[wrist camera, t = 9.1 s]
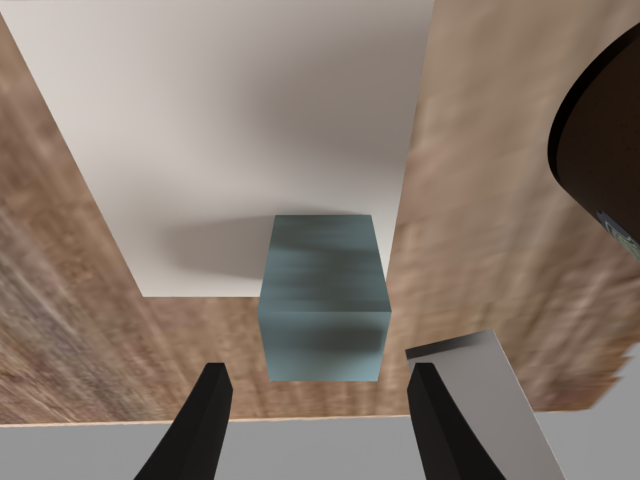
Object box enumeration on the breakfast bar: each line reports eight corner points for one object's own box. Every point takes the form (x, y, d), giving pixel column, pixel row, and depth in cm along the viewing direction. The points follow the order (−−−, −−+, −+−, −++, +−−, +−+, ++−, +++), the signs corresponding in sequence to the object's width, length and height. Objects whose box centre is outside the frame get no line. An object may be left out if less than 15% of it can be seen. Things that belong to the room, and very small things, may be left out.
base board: (150, 283, 23) (143, 296, 22) (18, -2, 13) (-6, 0, 12) (380, 283, 23) (383, 296, 22) (426, -3, 13) (434, -1, 12)
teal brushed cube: (282, 282, 21) (269, 381, 16) (275, 214, 18) (256, 311, 13) (363, 282, 21) (377, 381, 16) (371, 215, 18) (391, 311, 13)
